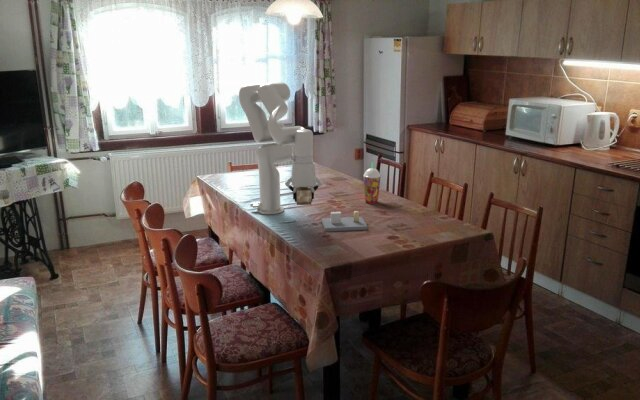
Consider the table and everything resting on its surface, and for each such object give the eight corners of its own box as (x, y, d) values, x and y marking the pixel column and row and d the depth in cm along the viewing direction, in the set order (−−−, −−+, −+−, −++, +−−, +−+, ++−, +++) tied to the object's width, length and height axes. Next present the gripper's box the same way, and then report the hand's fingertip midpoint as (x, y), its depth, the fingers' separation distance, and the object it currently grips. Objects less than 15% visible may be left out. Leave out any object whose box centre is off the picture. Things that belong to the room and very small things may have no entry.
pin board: (324, 231, 225) (324, 217, 224) (321, 221, 238) (321, 208, 236) (367, 229, 227) (367, 216, 226) (361, 219, 240) (361, 207, 238)
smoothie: (359, 200, 268) (360, 161, 262) (374, 199, 271) (375, 160, 266) (367, 205, 261) (368, 165, 255) (382, 203, 264) (384, 163, 258)
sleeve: (297, 204, 224) (297, 191, 222) (295, 199, 232) (295, 185, 230) (311, 204, 225) (311, 190, 223) (309, 198, 232) (309, 185, 230)
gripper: (283, 161, 218) (283, 204, 223) (325, 161, 220) (324, 203, 225) (282, 157, 225) (282, 198, 231) (323, 157, 227) (322, 197, 232)
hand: (303, 200), depth 228 cm, fingers closed on sleeve, 6 cm apart
